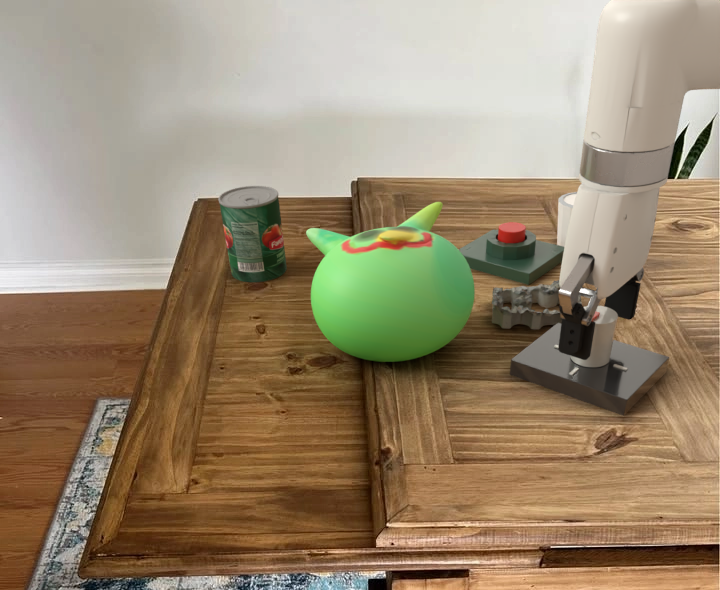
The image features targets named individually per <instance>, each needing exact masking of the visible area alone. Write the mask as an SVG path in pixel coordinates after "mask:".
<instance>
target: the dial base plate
mask: <svg viewBox="0 0 720 590" xmlns="http://www.w3.org/2000/svg"><path fill="white" fill-rule="evenodd" d="M560 331H561V323H557V324H556V325H552V327H550V328H549V329H548V330H547V331H545V332H544V333H543V334H541V335H540V336H538V338H536V339H535V340H534V341H532V342H531V343H530V344H529V345H528V346H526V347H525V348H524V349H522V350H521V351H520V352H519V353H517V354H516V355H515V356H513V357H512V358H511V359H510V368H509V375H510V376H513V377H516V378H518V379H520V380H524V381H526V382H529V383H531V384H534V385H538V386H540V387H543V388H545V389H548V390H551V391H554V392H557V393H559V394H562V395H565V396H567V397H571V398H573V399H576V400H579V401H581V402H584V403H587V404H590V405H592V406H595V407H597V408H601V409H603V410H606V411H609V412H612V413H614V414H617V415H620V416H624V417H625V415H627V413H628V412H629V411H630V410H631V409H632V408H633V407H634V406H635V405H636V404H637V403H638V402H639V401H640V400H641V399H642V398H643V397H644V396H645V394H647V392H649V391H650V390H651V388H652V387H653V386H654V385H655V384H656V383H657V382H658V381H659V380H660V379H661V378H662V377H663V376H664V375H665V374H666V373H667V369H668V366H669V362H670V356H668V355H664V354H661V353H659V352H654V351H652V350H648V349H646V348H642V347H638V346H635V345H631V344H629V343H625V342H622V341H619V340H615V339H614V340H613V345H612V350H611V356H610V360H609V362H608V363H607V364H606V365H604V366H601V367H584V366H581V365H578V364H576V363H575V362H573V361H572V359H571V357H570V355H567V354H564V353H561V352H560V351H559V349H558V347H559V339H560Z"/></svg>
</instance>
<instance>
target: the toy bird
mask: <svg viewBox="0 0 720 590" xmlns="http://www.w3.org/2000/svg"><path fill="white" fill-rule="evenodd" d="M443 205H444V203H443V202H441V201H435V202H432V203H431V204H428V205H427V206H425V207H424V208H422V209H420V210H419V211H417V212H416V213H414V214H413V215H412V216H410V217H409V218H408V219H406V220H405V221H403V222H402V223H400V224H398V225H397V226H387V227H385V226H384V227H380V228H374V229H369V230H366V231H362V232H360V233H357V234H354V235H351V236H349V235H345V234H342V233H338V232H335V231H332V230H327V229H324V228H319V227H310V228H308V229H307V230H306V232H305V234H306V236H307V238H308V240H309V241H310V242H311V243H312V244H313V246H315V247H316V248H317V249H318V250H319V251H320V252H321V254H322V255H324V257H323V258H322V259H321V260H320V263H319V264H318V266H317V268H316V270H315V272H314V275H313V277H312V282H311V286H310V287H311V288H310V304H311V310H312V314H313V318H314V320H315V322H316V325H317V326H318V328H319V330H320V332H321V333H322V334H323V336H324V337H325V338H326V340H328V341H329V342H330V343H331V345H333V346H334V347H335V348H338V350H340V351H342V352H344V353H346V354H347V355H350V356H352V357H355V358H357V359H362V360H365V361H371V362H372V361H373V362H378V363H379V362H380V363H395V362H405V361H411V360H415V359H418V358H421V357H424V356H427V355H430V354H432V353H435V352H436V351H438V350H440V349H442V348H444V347H445V346H446V345H448V344H450V343H451V342H452V341H453V340H454V339H455V338H456V337H457V336H458V335H459V334H460V333H461V331H463V329H464V327H465V326H466V324H467V322H469V321H468V320H469V319H470V317H471V313H472V311H473V308H474V304H475V294H476V293H475V292H476V291H475V289H476V288H475V281H474V276H473V272H472V269H471V268H470V267H469V265H468V263H467V261H466V259H465V257H464V256H463V255H462V253H461V252H460V251H459V250H458V249H459V248H457V246H455V244H453V243H452V242H451V241H449V240H448V239H447V238H445V237H443V236H441V235H439V234H437V233H434V232H432V231H431V230H432V228H433V226H434V225H435V223H436V221H437V219H438V218H439V216H440V214H441V212H442V209H443V207H444V206H443Z"/></svg>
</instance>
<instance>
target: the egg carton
mask: <svg viewBox="0 0 720 590" xmlns="http://www.w3.org/2000/svg"><path fill="white" fill-rule="evenodd" d="M559 290H560V285H559V279H557V280H553V282H552V283H551V284H543V283H539V284H538V285H535V286H525V285H521V286H515V287H511V288H503V287H494V286H493V288H492V293H491V294H492V300H491V304H492V314H491V323H492V324H496V325H498V326H500V327H501V329H511V328H512V327H513V326H515V325H524V326H527V327H529V328H530V330H541V328H542V327H544V326H554V325H556V324H557V323H562V318H561V317H560V314H561V312H560V311H559V310H558V309H553V310H549V308H555V307H557V306H558V305H560V301H559V297H558V293H559ZM505 303H509V304H511V308H510V307H509V306H504V304H505ZM578 303H580V304H582V305H583V301H582V296H580V295H579V296H578ZM533 304H538V305H539V306H540V307H543V308H545V309H543V310H542V311H536V310H535V309H532V305H533Z"/></svg>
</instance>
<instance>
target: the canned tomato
mask: <svg viewBox="0 0 720 590" xmlns="http://www.w3.org/2000/svg"><path fill="white" fill-rule="evenodd" d="M217 199H218V203H219V208H220V215H221V221H222V227H223V232H224V238H225V244H226V250H227V255H228V262H229V267H230V272H231V273H230V274H231V276H232V278H233V279H235V280H237V281H240V282H245V283H264V282H269V281H272V280H275V279H278V278H280V277H281V276H283V275H284V274H285V273H286V271H287V270H288V269H287V268H288V267H287V257H286V250H285V240H284V233H283V223H282V216H281V209H280V208H281V206H280V200H279V199H280V198H279V191H278V190H276V189H275V188H273V187H270V186H266V185H246V186H240V187H234V188H232V189H229V190H226V191H224V192H223V193H221V194H220V195H219V196H218V198H217Z"/></svg>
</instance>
